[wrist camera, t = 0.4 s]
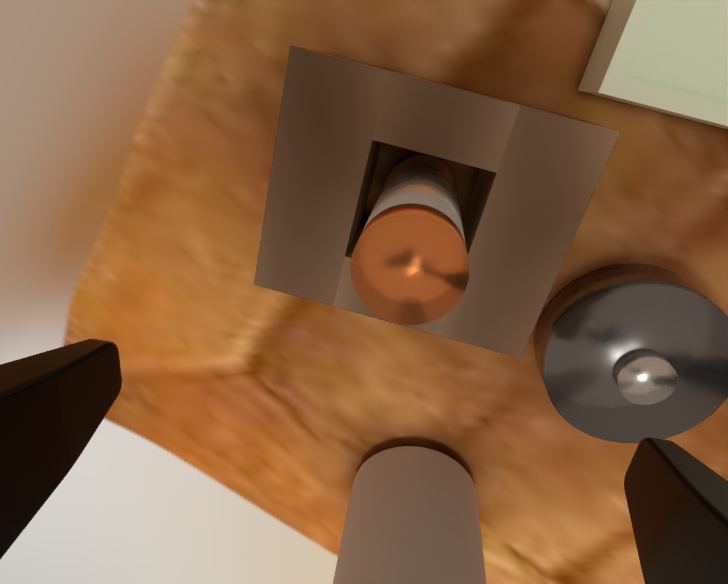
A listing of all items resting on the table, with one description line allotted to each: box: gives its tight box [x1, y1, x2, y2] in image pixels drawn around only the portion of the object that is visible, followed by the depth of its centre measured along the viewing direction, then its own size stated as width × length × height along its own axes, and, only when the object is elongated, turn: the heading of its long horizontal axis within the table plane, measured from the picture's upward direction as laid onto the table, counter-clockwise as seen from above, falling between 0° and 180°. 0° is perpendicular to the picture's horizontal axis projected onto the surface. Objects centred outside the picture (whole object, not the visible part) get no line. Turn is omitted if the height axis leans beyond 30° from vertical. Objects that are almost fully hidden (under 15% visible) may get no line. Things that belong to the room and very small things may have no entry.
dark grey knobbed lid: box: [534, 264, 728, 443], centre depth 20 cm, size 7×7×3 cm
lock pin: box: [350, 155, 469, 325], centre depth 16 cm, size 3×3×9 cm
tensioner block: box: [254, 46, 620, 358], centre depth 18 cm, size 10×8×4 cm
